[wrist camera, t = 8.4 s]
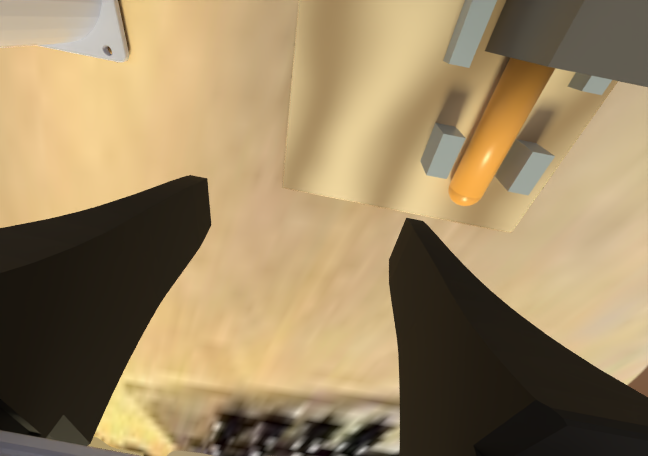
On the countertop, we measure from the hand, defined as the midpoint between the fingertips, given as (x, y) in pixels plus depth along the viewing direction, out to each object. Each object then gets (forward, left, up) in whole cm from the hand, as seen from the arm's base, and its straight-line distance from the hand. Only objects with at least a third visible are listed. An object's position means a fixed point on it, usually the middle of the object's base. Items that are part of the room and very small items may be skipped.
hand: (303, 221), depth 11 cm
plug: (+9, +4, -9) cm, 13 cm away
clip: (+9, +1, -9) cm, 13 cm away
